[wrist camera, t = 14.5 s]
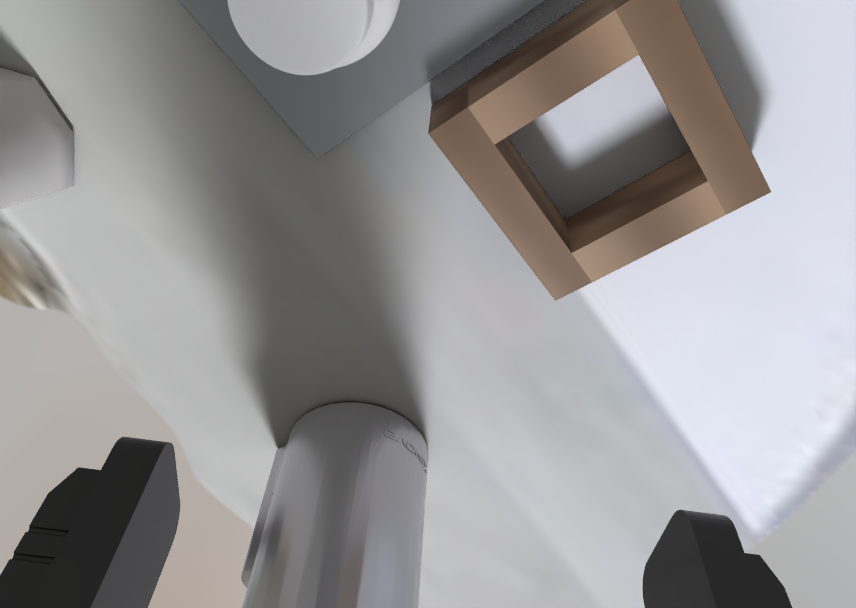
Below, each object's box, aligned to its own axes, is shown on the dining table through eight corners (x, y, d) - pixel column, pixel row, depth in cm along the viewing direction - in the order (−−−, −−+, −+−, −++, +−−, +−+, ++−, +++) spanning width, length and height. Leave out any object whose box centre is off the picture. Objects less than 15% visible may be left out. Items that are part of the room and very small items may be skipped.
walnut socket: (550, 265, 37) (555, 300, 35) (431, 105, 32) (428, 133, 30) (749, 160, 33) (771, 191, 31) (649, -42, 28) (665, -24, 26)
